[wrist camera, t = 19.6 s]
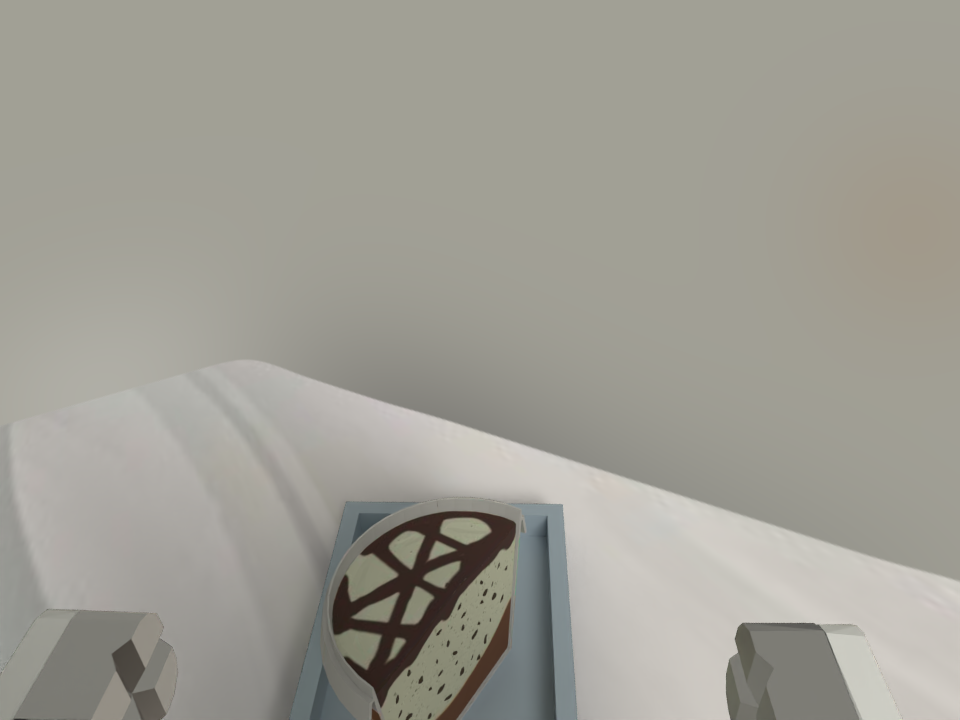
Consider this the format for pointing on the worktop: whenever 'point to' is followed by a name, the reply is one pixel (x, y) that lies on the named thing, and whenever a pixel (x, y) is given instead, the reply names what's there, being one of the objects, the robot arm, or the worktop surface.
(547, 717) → the tray
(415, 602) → the food container
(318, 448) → the worktop surface
